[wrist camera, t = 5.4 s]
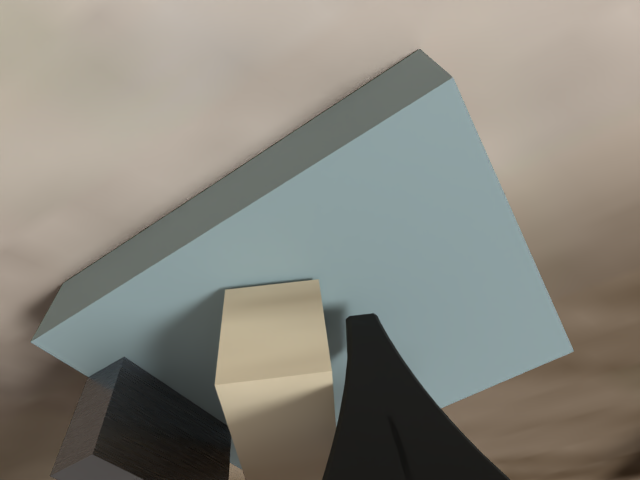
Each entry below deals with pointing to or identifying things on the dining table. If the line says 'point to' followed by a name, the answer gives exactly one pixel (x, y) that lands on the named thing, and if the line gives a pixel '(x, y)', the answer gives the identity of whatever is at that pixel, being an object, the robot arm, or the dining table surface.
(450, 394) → the blue-grey block
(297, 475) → the folding leg
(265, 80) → the dining table surface
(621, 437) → the dining table surface
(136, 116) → the dining table surface
